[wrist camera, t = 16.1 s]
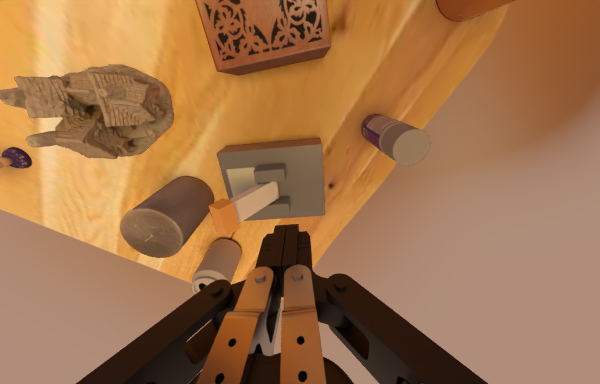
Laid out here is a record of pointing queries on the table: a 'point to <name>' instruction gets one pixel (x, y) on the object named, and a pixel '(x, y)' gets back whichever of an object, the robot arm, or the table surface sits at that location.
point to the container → (397, 139)
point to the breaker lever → (242, 206)
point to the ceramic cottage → (96, 110)
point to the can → (217, 264)
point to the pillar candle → (167, 217)
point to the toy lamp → (15, 158)
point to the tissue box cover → (264, 32)
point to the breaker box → (278, 175)
